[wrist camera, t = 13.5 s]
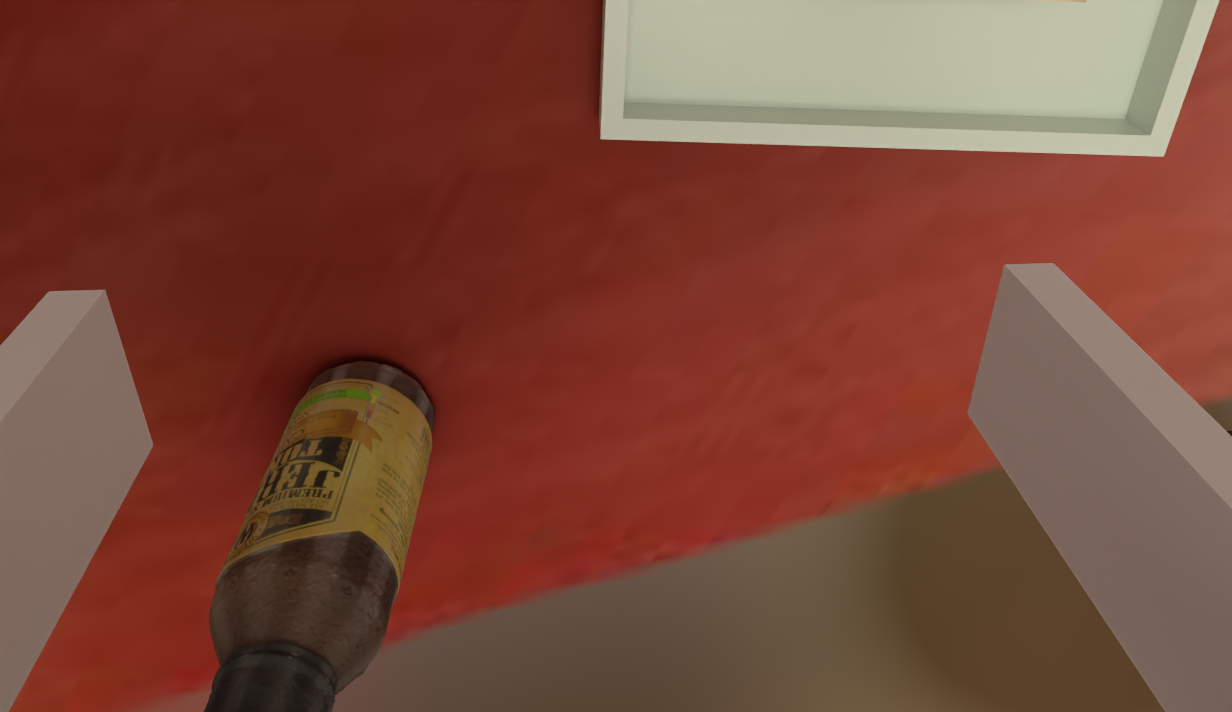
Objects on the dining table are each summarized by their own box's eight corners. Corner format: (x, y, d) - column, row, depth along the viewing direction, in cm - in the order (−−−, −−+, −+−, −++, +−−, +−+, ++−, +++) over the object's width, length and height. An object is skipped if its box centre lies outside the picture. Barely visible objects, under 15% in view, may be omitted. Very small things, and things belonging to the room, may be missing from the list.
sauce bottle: (369, 327, 42) (234, 702, 25) (465, 418, 45) (401, 810, 28) (269, 403, 44) (81, 799, 27) (367, 485, 47) (251, 892, 30)
